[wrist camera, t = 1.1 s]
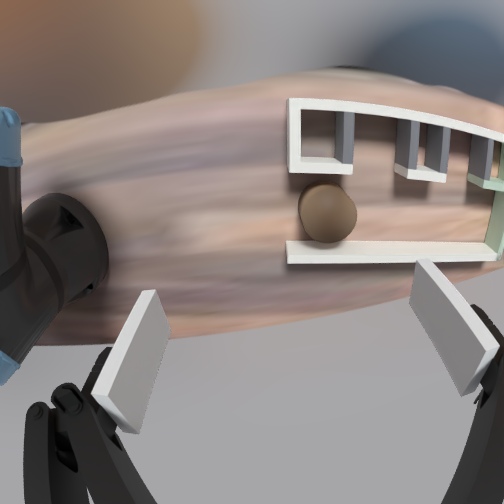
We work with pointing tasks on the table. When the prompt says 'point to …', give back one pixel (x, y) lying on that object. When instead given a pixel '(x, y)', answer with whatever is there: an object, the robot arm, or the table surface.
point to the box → (435, 169)
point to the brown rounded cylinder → (327, 212)
